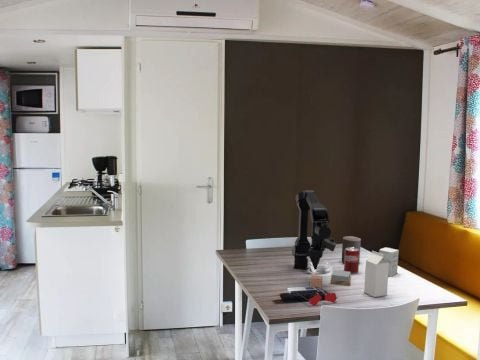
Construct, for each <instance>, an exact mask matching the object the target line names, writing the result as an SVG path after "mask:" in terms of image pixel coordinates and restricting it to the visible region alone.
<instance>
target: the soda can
mask: <svg viewBox="0 0 480 360" xmlns="http://www.w3.org/2000/svg"><path fill="white" fill-rule="evenodd" d="M359 268H360V261H359V249H357V248H346V249H345V258H344V264H343V271H347V272H350V275H356V274H358V273H359Z"/></svg>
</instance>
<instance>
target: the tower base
mask: <svg viewBox="0 0 480 360" xmlns="http://www.w3.org/2000/svg"><path fill="white" fill-rule="evenodd" d="M351 280H352V276H350V279H349V282H344V281H336V280H331V279H330V285H335V286H336V285H337V286H347V287H350V286H351V283H352V281H351Z"/></svg>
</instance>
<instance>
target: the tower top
mask: <svg viewBox="0 0 480 360" xmlns="http://www.w3.org/2000/svg"><path fill="white" fill-rule="evenodd" d="M350 277H351V274H350V272H347V271H344V270H337V269H333V271H332V273H331V279H330V281H331V280H336V281H344V282H349V279H350Z"/></svg>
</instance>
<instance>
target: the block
mask: <svg viewBox="0 0 480 360" xmlns="http://www.w3.org/2000/svg"><path fill="white" fill-rule="evenodd" d="M322 284H323V275H315V274H311V276H310V281H309V287H315V288H321V287H322Z"/></svg>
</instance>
